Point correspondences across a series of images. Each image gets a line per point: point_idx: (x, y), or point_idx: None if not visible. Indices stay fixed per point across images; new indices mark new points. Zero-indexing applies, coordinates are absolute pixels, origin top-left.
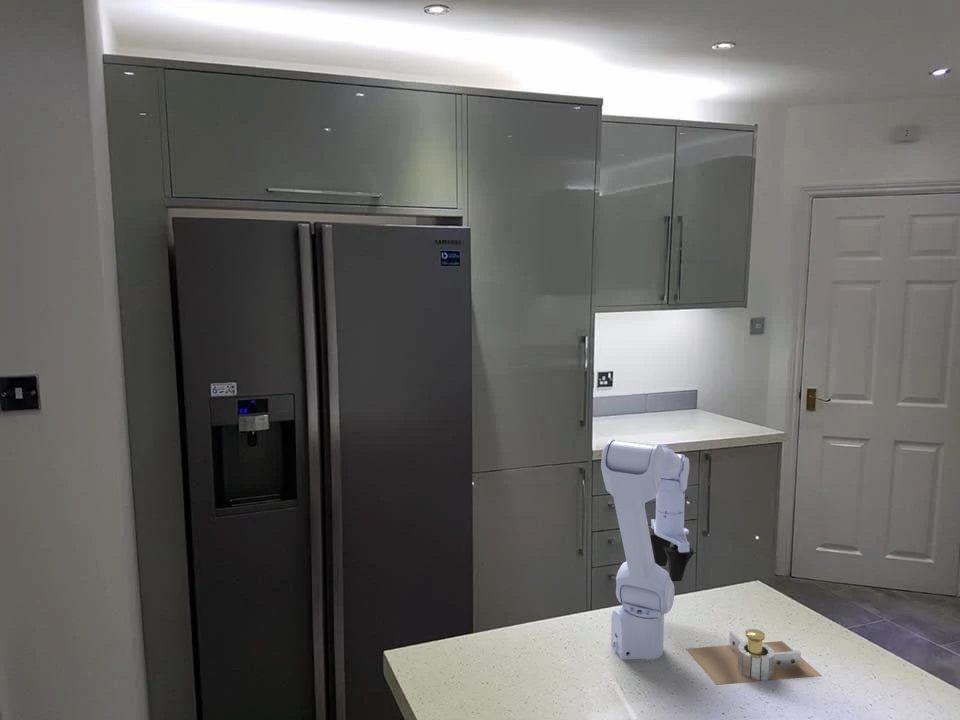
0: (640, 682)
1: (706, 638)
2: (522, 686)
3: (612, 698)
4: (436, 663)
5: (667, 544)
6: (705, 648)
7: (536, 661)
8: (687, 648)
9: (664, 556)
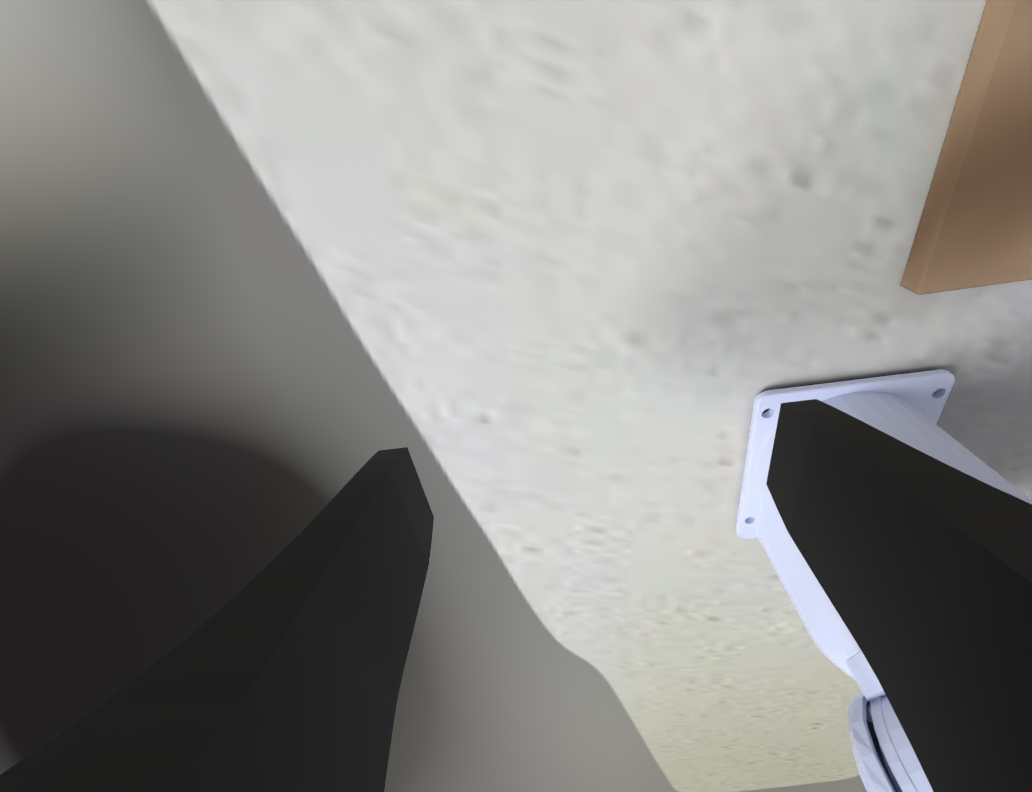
0: None
1: (796, 104)
2: (859, 688)
3: None
4: (717, 766)
5: (284, 710)
6: (971, 179)
7: (764, 666)
8: (921, 284)
9: (377, 545)
